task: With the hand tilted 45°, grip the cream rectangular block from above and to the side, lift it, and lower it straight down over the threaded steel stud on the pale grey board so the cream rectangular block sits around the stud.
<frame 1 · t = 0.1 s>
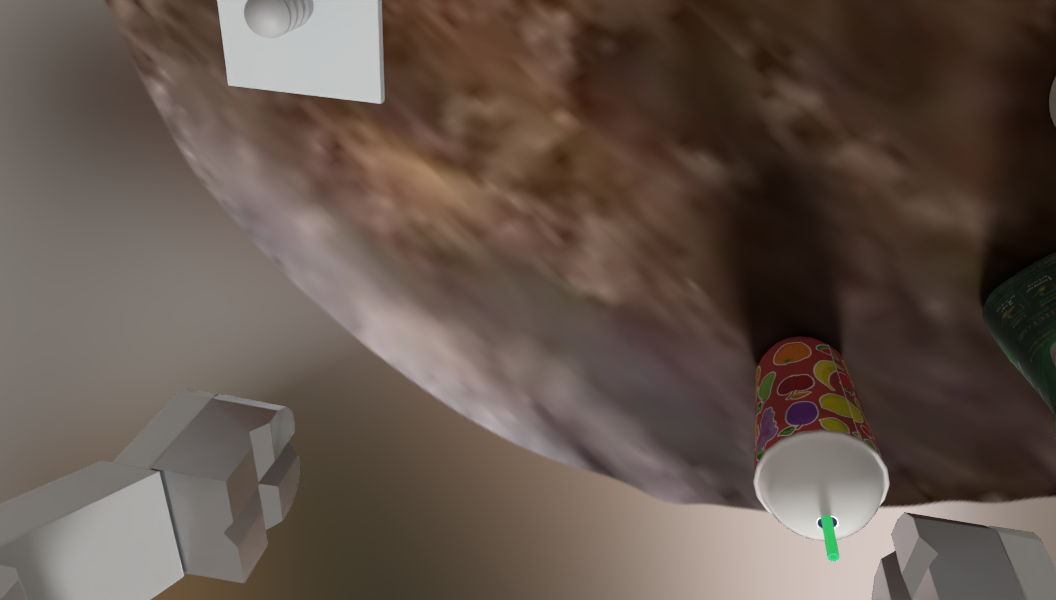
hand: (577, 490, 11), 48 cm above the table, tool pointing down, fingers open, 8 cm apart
smoothie: (798, 363, 64), on the table
stud board: (300, 0, 57), on the table
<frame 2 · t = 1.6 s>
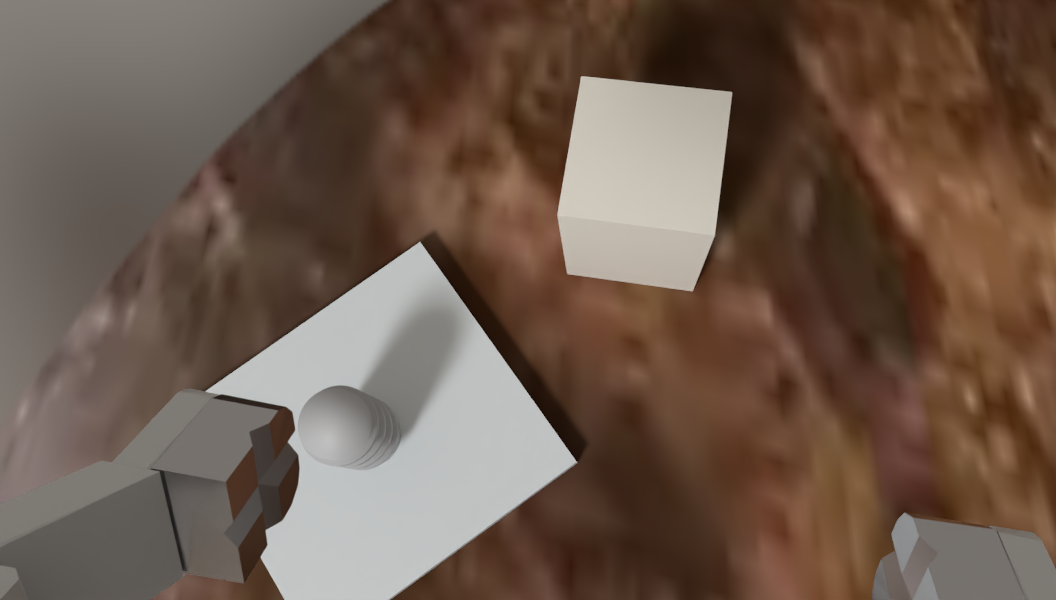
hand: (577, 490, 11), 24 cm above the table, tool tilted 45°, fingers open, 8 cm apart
cream rectangular block: (638, 223, 36), on the table
stud board: (375, 437, 35), on the table
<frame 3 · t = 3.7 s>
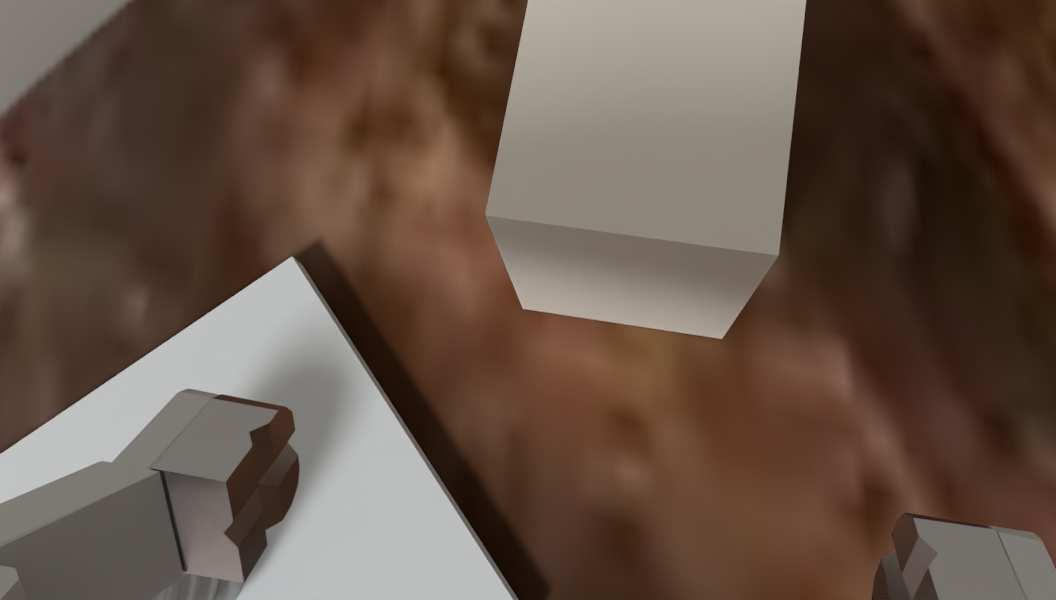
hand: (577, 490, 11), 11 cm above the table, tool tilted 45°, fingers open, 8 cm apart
cream rectangular block: (635, 230, 23), on the table
stud board: (211, 570, 22), on the table
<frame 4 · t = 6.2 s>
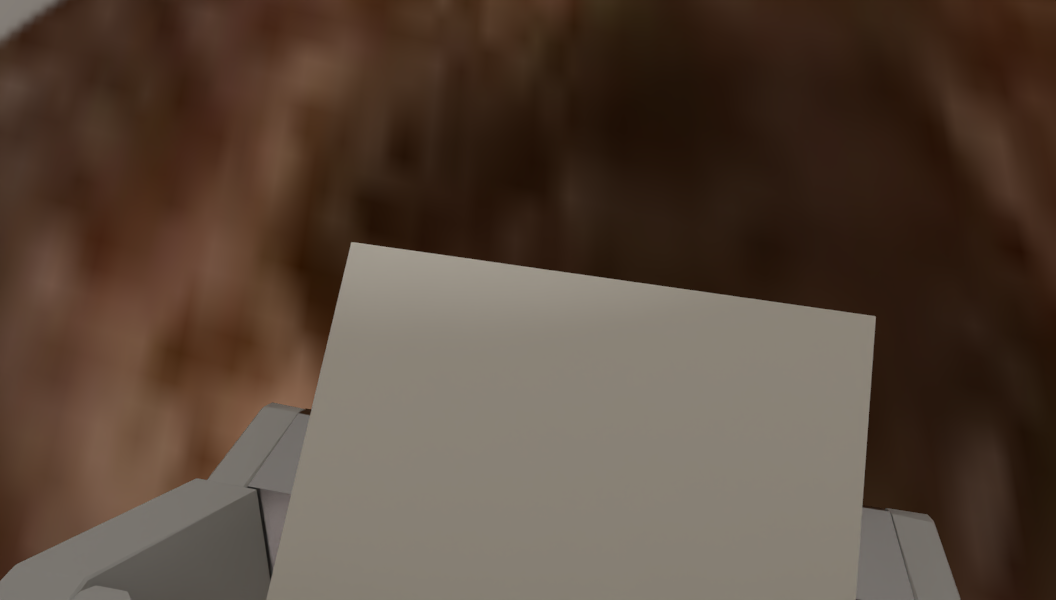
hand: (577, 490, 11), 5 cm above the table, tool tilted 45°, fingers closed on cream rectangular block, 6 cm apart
cream rectangular block: (579, 531, 15), on the table, touching gripper
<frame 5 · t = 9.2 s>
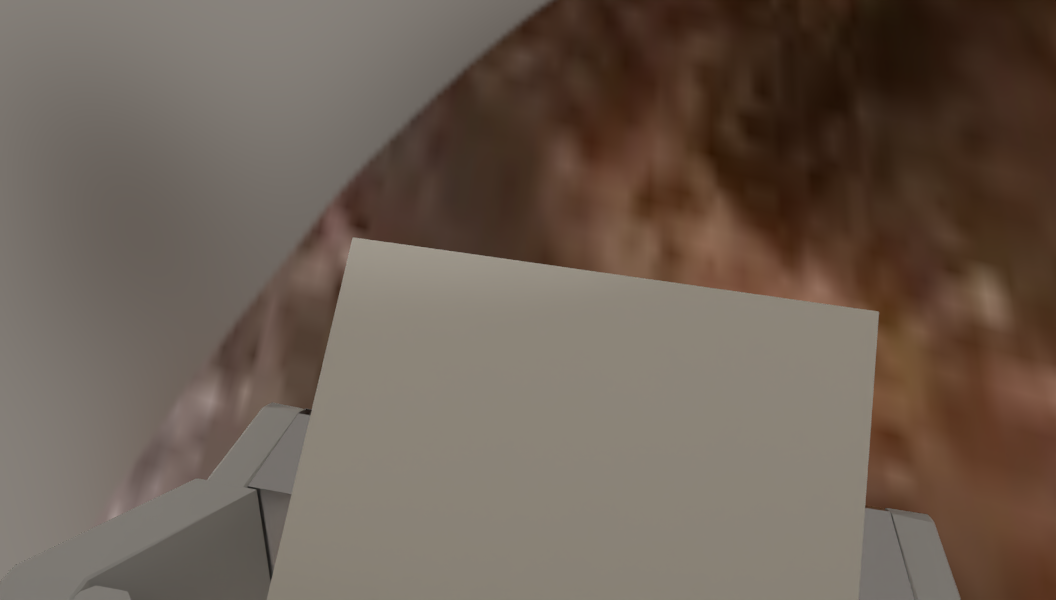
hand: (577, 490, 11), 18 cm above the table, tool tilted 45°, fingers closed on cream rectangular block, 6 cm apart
cream rectangular block: (580, 529, 15), point 13 cm above the table, touching gripper
when the fingers open (7 cm above the table, at t = 12.5 s): cream rectangular block drops 1 cm, resting on stud board.
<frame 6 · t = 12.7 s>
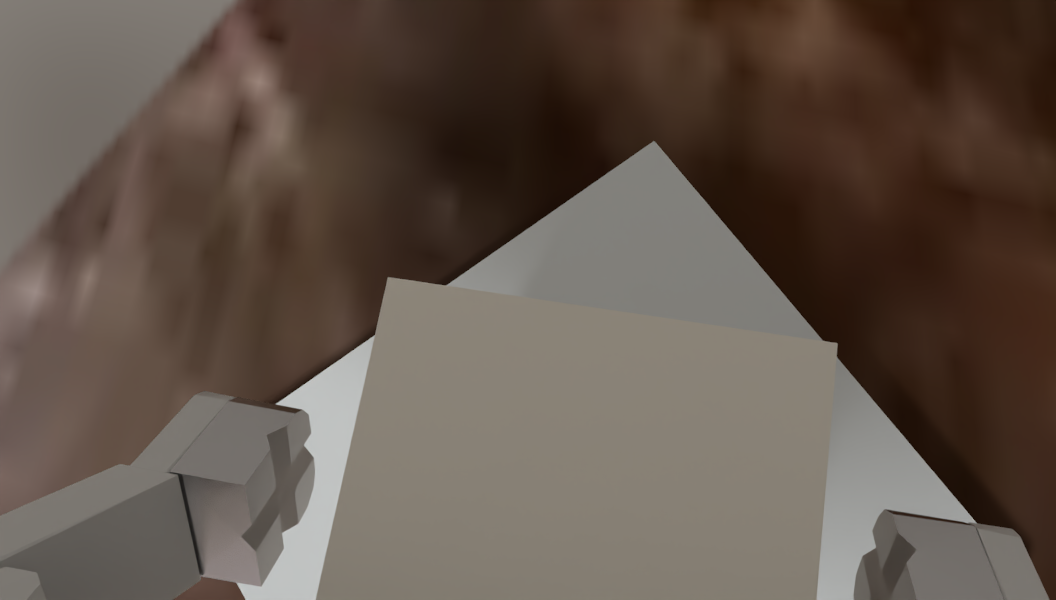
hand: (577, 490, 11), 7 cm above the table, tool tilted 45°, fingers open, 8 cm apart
cream rectangular block: (582, 528, 17), point 1 cm above the table, touching stud board
stud board: (580, 529, 17), on the table
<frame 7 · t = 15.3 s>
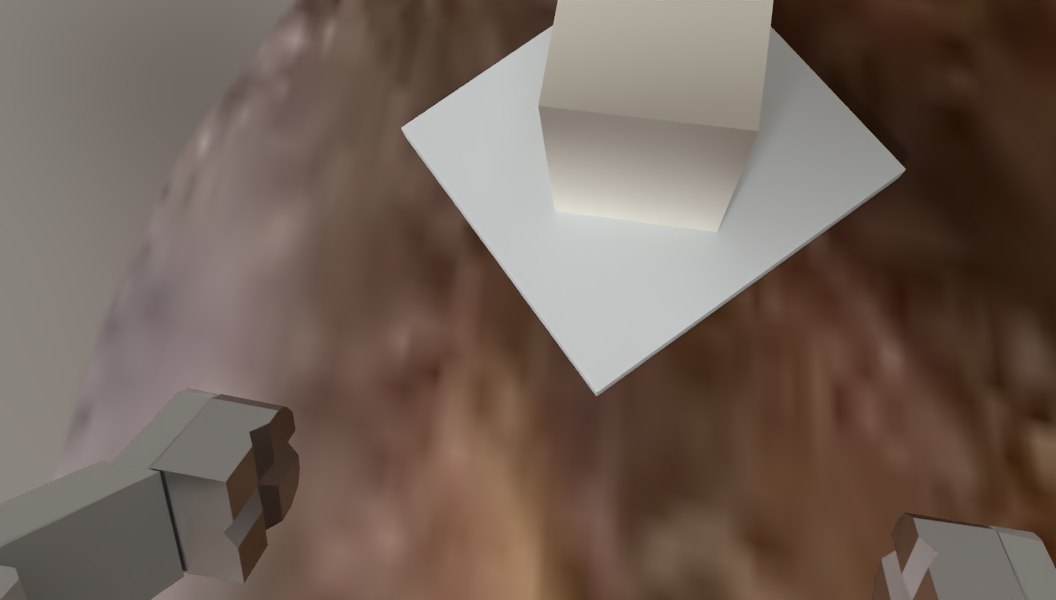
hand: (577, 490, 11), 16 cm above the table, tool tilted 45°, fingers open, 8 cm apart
cream rectangular block: (646, 147, 28), point 1 cm above the table, touching stud board
stud board: (643, 157, 29), on the table
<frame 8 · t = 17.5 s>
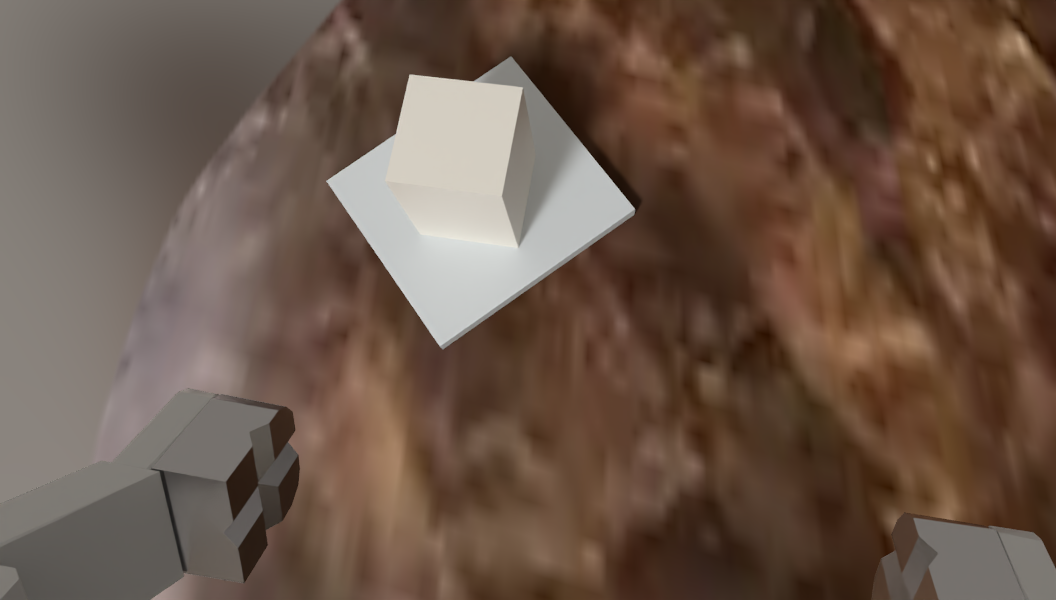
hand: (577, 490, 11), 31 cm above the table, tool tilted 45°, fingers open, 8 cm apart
cream rectangular block: (478, 194, 45), point 1 cm above the table, touching stud board
stud board: (479, 200, 46), on the table
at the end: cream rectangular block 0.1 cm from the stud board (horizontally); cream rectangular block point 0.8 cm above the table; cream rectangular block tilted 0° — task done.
